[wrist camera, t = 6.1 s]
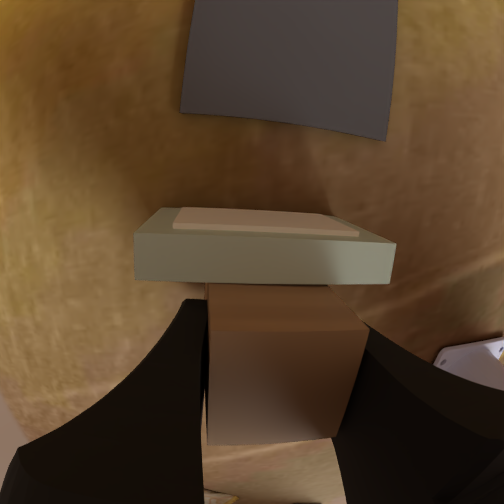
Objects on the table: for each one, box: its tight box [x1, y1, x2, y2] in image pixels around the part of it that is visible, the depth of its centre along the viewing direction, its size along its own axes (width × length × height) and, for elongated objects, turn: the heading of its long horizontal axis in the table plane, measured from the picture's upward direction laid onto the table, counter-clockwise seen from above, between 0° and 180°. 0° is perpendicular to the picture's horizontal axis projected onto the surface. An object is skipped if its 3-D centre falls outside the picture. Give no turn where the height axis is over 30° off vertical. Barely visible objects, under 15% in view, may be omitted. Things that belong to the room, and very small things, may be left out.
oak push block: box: [204, 283, 370, 445], centre depth 10 cm, size 3×3×7 cm
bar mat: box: [180, 0, 398, 142], centre depth 9 cm, size 10×8×1 cm
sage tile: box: [134, 207, 396, 284], centre depth 11 cm, size 1×7×5 cm, turn 85°
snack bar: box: [204, 489, 239, 504], centre depth 21 cm, size 10×2×3 cm
